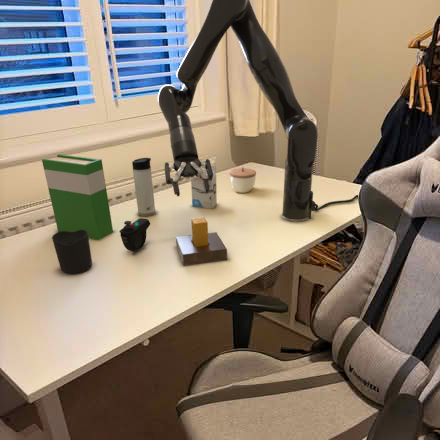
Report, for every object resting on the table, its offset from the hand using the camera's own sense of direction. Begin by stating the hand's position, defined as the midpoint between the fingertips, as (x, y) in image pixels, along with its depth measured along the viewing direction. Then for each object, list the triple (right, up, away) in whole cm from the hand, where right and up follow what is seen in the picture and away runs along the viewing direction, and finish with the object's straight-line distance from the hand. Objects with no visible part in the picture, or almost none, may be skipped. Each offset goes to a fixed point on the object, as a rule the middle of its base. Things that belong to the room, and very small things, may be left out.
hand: (192, 193), depth 132 cm
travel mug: (-19, 0, +31) cm, 36 cm away
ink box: (+2, +4, +37) cm, 38 cm away
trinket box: (+18, +13, +52) cm, 56 cm away
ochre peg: (+2, -18, +1) cm, 18 cm away
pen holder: (-33, -22, -5) cm, 40 cm away
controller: (-17, -16, +5) cm, 24 cm away
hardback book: (-37, -9, +18) cm, 42 cm away
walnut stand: (+2, -18, +1) cm, 18 cm away
